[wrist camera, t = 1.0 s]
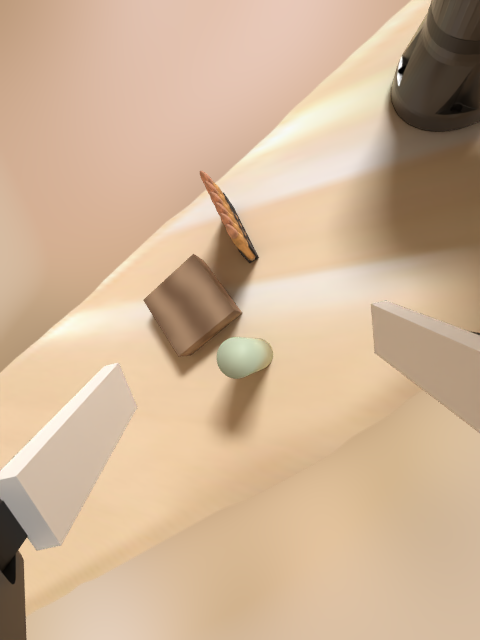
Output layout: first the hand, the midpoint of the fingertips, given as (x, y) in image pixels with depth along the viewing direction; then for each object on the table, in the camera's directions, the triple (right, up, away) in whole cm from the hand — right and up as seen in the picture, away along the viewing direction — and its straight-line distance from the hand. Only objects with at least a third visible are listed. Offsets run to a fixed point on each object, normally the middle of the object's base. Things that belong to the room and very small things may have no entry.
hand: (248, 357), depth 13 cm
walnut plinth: (-8, +4, +32) cm, 34 cm away
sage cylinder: (+2, -4, +28) cm, 29 cm away
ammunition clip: (0, +17, +31) cm, 35 cm away
